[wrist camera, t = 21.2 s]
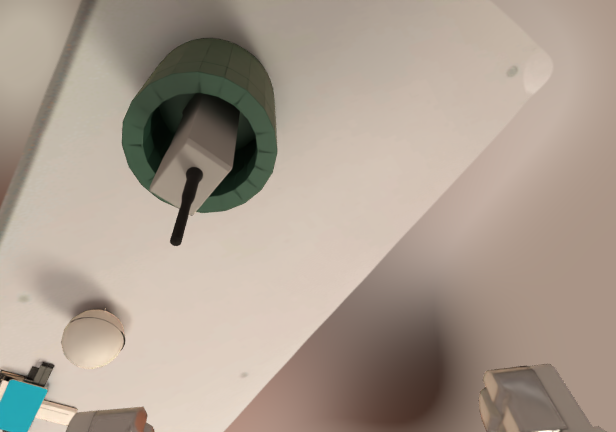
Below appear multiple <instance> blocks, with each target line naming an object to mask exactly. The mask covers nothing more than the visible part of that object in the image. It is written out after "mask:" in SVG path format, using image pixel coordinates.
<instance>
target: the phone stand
mask: <svg viewBox="0 0 616 432" xmlns="http://www.w3.org/2000/svg"><path fill="white" fill-rule="evenodd" d="M47 366H48V367H47ZM53 367H54V365H51V364H49V365H48V364H47V363H44V362H43V363H42V366H40V368H36V367H32V368H31V371H30V373H29V375H28V377H26V378H27V379H24V378H25V377H24V376H21V375H17V374H14V373H10V372H7V371H3V370H2V371H1V373H0V429H1V430H3V431H4V432H28V430H29V428H30V426H31V424H32V422H33V420H34V418H35V417H36V418H39V419H43V420H47V421H51V422H55V423H59V424H63V425H67V426H68V425H69V422H70V420H71V419H72V417H73V416H74V415H75V414H76V413H77V410H78V409H75V408H71V407H67V406H64V405H60V404H56V403H52V402H49V401H45V400H44V398H45V396H46V394H47V392H48V389H47V388H44V386H45V384H46V382H47V380H48V378H49V376H50V374H51V371H52V369H53ZM6 378H7V379H6ZM5 380H6V381H5ZM23 380H24V381H23Z"/></svg>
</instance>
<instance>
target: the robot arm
mask: <svg viewBox="0 0 616 432" xmlns="http://www.w3.org/2000/svg"><path fill="white" fill-rule="evenodd" d="M483 382H484V384H485V386H486V387H485V388H484V389H483V390H481V391H480V395H479V411H480V415H481V418H482V422H483V424H484V427H485V429H486V431H487V432H606V431H605V430H604V429H602V428H601V427H599V426H598V427H592V425H591V424H590V422H589V420H588V419H587V417H586V416H585V414H584V413H583V411H582V410H581V408H580V407H579V405H578V403H577V402H576V400H575V399H574V397H573V396H572V394H571V392H570V391H569V389H568V388H567V386H566V384H565V383H564V381H563V380H562V378H561V377H560V375H559V373H558V372H557V370H556V369H555V368H554V367H553V366H552V365H551V364H542V365H534V366H520V367H512V368H504V369H495V370H488V371H486V372H485V374H484V377H483ZM146 419H147V413H146V411H145V409H144V407H134V408H123V409H112V410H101V411H99V410H98V411H89V412H79V413H76V414H75V415H74V416H73V417H72V419H71V420H70V422H69V425H68V427H67V430H66V432H154V429H153V427H152V426H151V425H150V424H148V423H146Z"/></svg>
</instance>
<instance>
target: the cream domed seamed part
mask: <svg viewBox="0 0 616 432" xmlns="http://www.w3.org/2000/svg"><path fill="white" fill-rule="evenodd" d="M61 344H62V348H63V352H64V355H65V356H66V358H67V359H68V360H69V361H70V362H71V363H72V364H74V365H75V366H78V367H80V368H84V369H93V368H98V367H102V366H105V365H106V364H108V363H110V362H111V361H112V360H114V359H115V358H116V356H117V355H118V354H119V353H120V351H121V350H122V349H123V347H124V345H125V333H124V328H123V326H122V323H121V322H120V320H119V319H118V318H117V317H116V316H115V315H113V314H112V313H110V312H107V311H104V310H88V311H84V312H83V313H81V314H79V315H77V316H76V317H74V318H73V319H72V320H71V321H70V322H69V324H68V325H67V326H66V328H65V329H64V332H63V336H62V341H61Z"/></svg>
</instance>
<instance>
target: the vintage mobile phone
mask: <svg viewBox="0 0 616 432" xmlns="http://www.w3.org/2000/svg"><path fill="white" fill-rule="evenodd" d="M182 115H183V117H182V119H181V122H180V124H179V126H178V129H177V131H176V133H175V136H174V138H173V140H172V143H171V145H170V147H169V149H168V150H167V152H166V154H165V156H164V158H163V160H162V162H161V164H160V166H159V168H158V170H157V172H156V174H155V176H154V179H153V181H152V183H151V185H150V191H151V192H153V193H154V194H156V195H158V196H159V197H161V198H163V199H164V200H166V201H168V202H169V203H171V204H172V205H174V206H176V207H177V208H179V213H178V216H177V219H176V223H175V226H174V229H173V233H172V236H171V239H170V243H171V244H172V245H174V246H178V245H180V244H181V242H182V238H183V234H184V230H185V226H186V223H187V219H188V215H190V216H193V215H194V213H195V212H196V211H197V210H198V209H199V208H200V206H201V205H202V204H203V203H204V202H205V200H206V199H207V198H208V197H209V196H210V194H211V193H212V192H213V191H214V190H215V189H216V187H217V186H218V185H219V184H220V183H221V181H222V180H223V179H224V178H225V177H226V175H227V174H228V173H229V172H230V171H231V170H232V168H233V160H234V153H235V145H236V138H237V130H238V123H239V116H240V111H239V110H238V109H237V108H236V107H235V106H234V105H232V104H230V103H229V102H227V101H225V100H223V99H221V98H219V97H217V96H212V95H208V94H203V93H196V94H195V95H194V96H193V98H192V99H191V100H190V102H189V103H188V104H187V106H186V107H185V108H184V110H183V112H182Z"/></svg>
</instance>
